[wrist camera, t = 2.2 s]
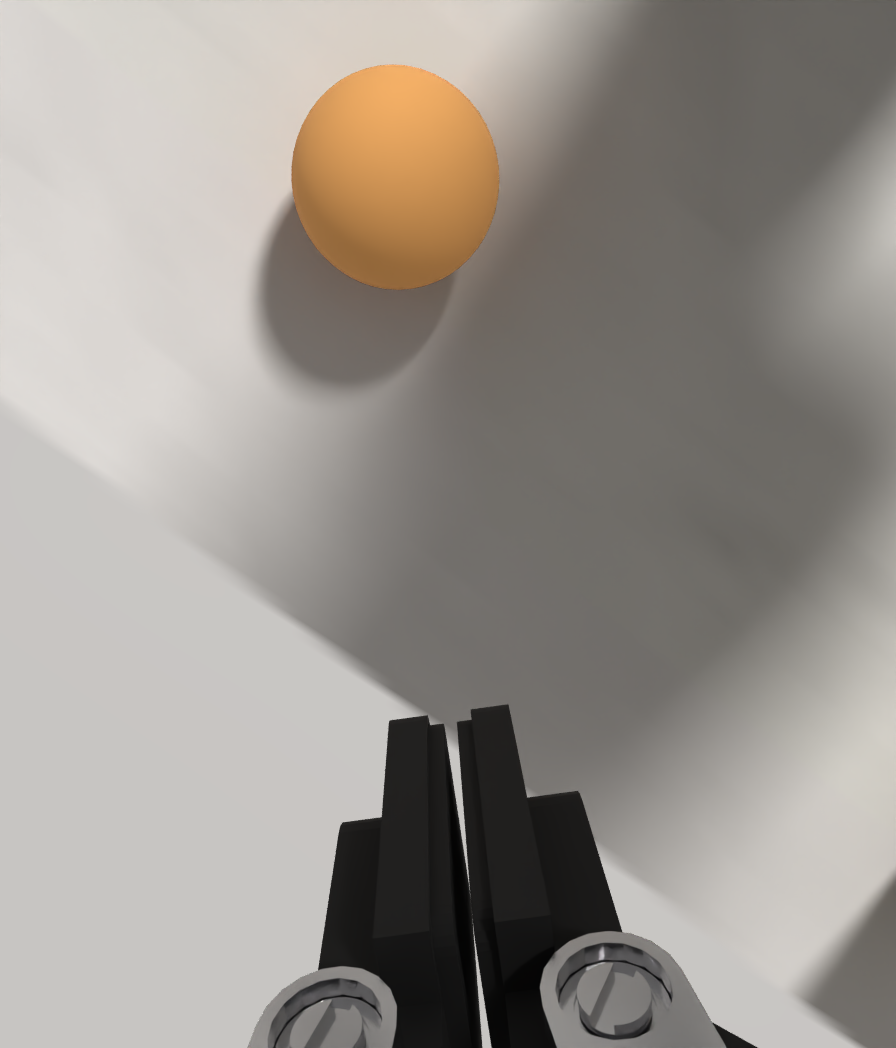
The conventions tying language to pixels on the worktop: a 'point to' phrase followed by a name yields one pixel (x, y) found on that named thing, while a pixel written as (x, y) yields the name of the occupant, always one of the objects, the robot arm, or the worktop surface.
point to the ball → (395, 177)
